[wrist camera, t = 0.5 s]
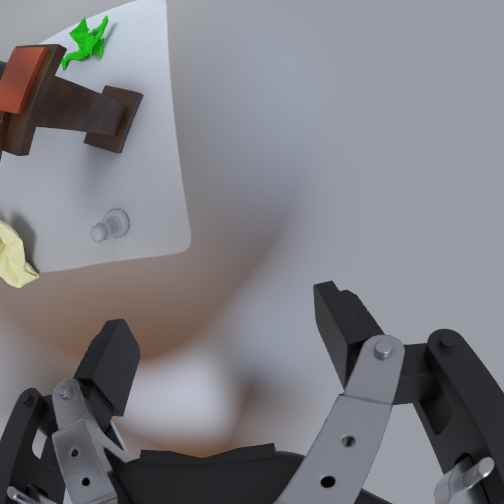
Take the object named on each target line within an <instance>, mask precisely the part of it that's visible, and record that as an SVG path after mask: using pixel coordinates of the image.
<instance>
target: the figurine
mask: <svg viewBox="0 0 504 504" xmlns="http://www.w3.org/2000/svg"><path fill="white" fill-rule="evenodd" d="M107 22H108V17H107V16H106V17H105V18H104V19H103V22H102V24H101V25H100V26H99V27H100V28H99V27H97V28H96V29H93V30H92V31H91V32H90V33H88V31H89V29H88V28H87V24H86V20H85V17H84V19H83V20H82V21H81V23H80V24H79V25H78V27H77V28H75V29H74V30H73V31H72V32H70V33H69V34H70V35H71V37H72V38H73V39H74V40H75V41H76V42H77V43H78V46H79V49H80V50H79V51H78V50H77V51H78V52H74V53H70V54H67V56H66V57H65V59H64V58H62V61H61V64H62V67H63V70H64V69H66V65H67V62H69V60H70V59H76V60H82V59H83V58H85V57H86V56H87V58H88V54H90V58H91V54H92V50H93V52H94V53H95V54H99V56H100V59H101V56H102V44H103V39H104V38H103V39H102V40H100V38H101V37H102V34H103V32H104V29H105V27H106V25H107ZM98 28H99V31H98V33H97V36H94V35H92V33H93V32H95V31H96V30H97V29H98Z"/></svg>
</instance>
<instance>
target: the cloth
mask: <svg viewBox="0 0 504 504" xmlns="http://www.w3.org/2000/svg"><path fill="white" fill-rule="evenodd" d="M0 278H3V279H4V280H5V281H6V282H7V283H8V284H10V285H12V286H14V287H17V288H21V287H22V286H24V285H25V284H27V283H29V282H31V281H33V280H35V279H36V278H39V275H38V274H37V273H36V272H35V271H34V269H33V268H32V267H31V265H30V264H29V263H28V262H27V261H25V253H24V246H23V241H22V240H21V239H20V238H19V235H18V233H17V232H16V231H15V230H14V229H13V228H12V227H11V226H10V225H8V224H7V223H6V222H3V221H1V220H0Z"/></svg>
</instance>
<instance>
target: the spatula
mask: <svg viewBox="0 0 504 504" xmlns="http://www.w3.org/2000/svg"><path fill="white" fill-rule="evenodd" d="M48 50H49V49H47V48H45V47H32V48H17V49H14V50H13V52H12V54H11V56H10V59H9V61H8V63H7V65H6V68H5V70H4V73H3V75H2V78H1V80H0V160H1V155H2V150H3V146H4V141H5V137H6V133H7V129H8V126H9V122H10V119H11V115H12V113H15V114H23V111H24V108H25V105H26V102H27V99H28V96H29V94H30V91H31V88H32V86H33V83H34V81H35V78H36V76H37V74H38V71H39V69H40V67H41V64H42V62H43V60H44V58H45V56H46V54H47V52H48Z"/></svg>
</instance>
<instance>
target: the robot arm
mask: <svg viewBox="0 0 504 504" xmlns="http://www.w3.org/2000/svg"><path fill="white" fill-rule="evenodd" d="M6 65H7V63H6V62H2V61H0V80H1V78H2V75H3V73H4V70H5V68H6ZM313 289H314V304H315V318H316V323H317V327H318V330H319V332H320V335H321V337H322V339H323V341H324V344H325V346H326V348H327V351H328V353H329V355H330V357H331V360H332V363H333V365H334V367H335V369H336V372H337V374H338V377H339V379H340V381H341V384H342V386H343V389H345V390H344V392H343V394H339V396H338V397H337V399H336V400H335V403H334V404H333V407H332V409H331V411H330V413H329V415H328V417H327V418H326V420H325V422H324V424H323V426H322V428H321V430H320V432H319V434H318V436H317V437H316V439H315V441H314V443H313V445H312V446H311V448H310V450H309V451H308V453H307V455H306V456H304V455H301V454H296V453H293V452H286V451H276V449H275V446H274V443H270V444H264V445H257V446H250V447H242V448H236V449H233V450H230V451H227V452H224V453H220V454H217V455H213V456H210V457H206V458H199V457H194V456H189V455H184V454H180V453H176V452H172V451H155V450H141V454H140V458H138V459H135V460H134V459H133V458H132V456H131V455H130V453H129V451H128V450H127V448H126V446H125V444H124V442H123V441H122V438H121V437H120V435H119V433H118V431H117V429H116V427H115V425H114V423H113V422H112V421H111V418H112V416H123V415H124V411H125V407H126V404H127V400H128V396H129V393H130V390H131V386H132V383H133V380H134V376H135V373H136V370H137V366H138V363H139V360H140V349H139V346H138V344H137V342H136V340H135V338H134V336H133V334H132V332H131V331H130V329H129V327H128V325H127V323H126V321H125V320H124V319H116V320H108V321H106V323H105V325H104V326H103V328H102V330H101V332H100V333H99V334H98V335H97V336H96V337H95V338H94V339H93V340H92V342H91V343H90V345H89V347H88V350H87V352H86V353H85V357H83V359H82V361H81V363H80V365H79V367H78V369H77V371H76V373H75V375H74V377H73V379H66V380H64V381H62V382H61V383H59V384H58V385H57V386H56V387H55V389H54V391H53V394H52V395H47V396H42V395H41V394H40V393H39V392H38V390H37V389H35V388H29V389H27V390H25V391H24V392H23V393H22V394H21V395H20V397H19V398H18V400H17V402H16V404H15V407H14V409H13V411H12V413H11V416H10V418H9V420H8V422H7V425H6V427H5V430H4V432H3V435H2V437H1V440H0V504H63V499H64V493H65V488H67V490H68V493H69V496H70V498H71V501H72V503H73V504H392V503H390V502H388V501H386V500H384V499H382V498H379V497H378V496H376V495H374V494H372V493H370V492H368V491H366V490H364V489H363V488H362V486H363V484H364V482H365V480H366V478H367V475H368V473H369V471H370V468H371V466H372V464H373V462H374V459H375V457H376V454H377V451H378V449H379V446H380V444H381V441H382V438H383V435H384V432H385V429H386V426H387V423H388V420H389V417H390V414H391V410H392V406H393V405H398V404H408V403H413V405H414V407H415V409H416V412H417V413H418V416H419V418H420V420H421V422H422V424H423V427H424V429H425V431H426V433H427V436H428V438H429V440H430V442H431V445H432V447H433V449H434V452H435V454H436V457H437V459H438V462H439V464H440V467H441V469H442V472H443V474H444V476H442V478H441V479H440V480H439V481H438V483H437V485H436V488H435V492H434V496H435V504H504V393H503V391H502V390H501V388H500V387H499V385H498V384H497V382H496V381H495V380H494V378H493V377H492V375H491V374H490V373H489V371H488V370H487V368H486V367H485V366H484V364H483V363H482V362H481V360H480V359H479V358H478V356H477V355H476V354H475V352H474V351H473V350H472V349H471V347H470V346H469V345H468V344H467V342H466V341H465V340H464V338H463V337H462V336H461V335H460V334H459V333H457V332H455V331H453V330H449V329H439V330H436V331H434V332H433V333H432V334H431V335H430V336H429V338H428V341H427V343H422V344H412V345H403V344H402V342H401V341H400V340H399V339H397V338H395V337H393V336H390V335H385V334H384V332H383V331H382V330H381V328H380V327H379V325H378V324H377V323H376V321H375V320H374V318H373V317H372V315H371V314H370V313H369V311H367V309H366V307H365V306H364V305H363V303H362V302H361V300H360V299H359V298H358V296H357V295H356V294H354V293H352V292H350V291H348V290H343V291H339V290H338V288H337V287H336V285H335V284H334V282H333V281H328V282H324V283H319V284H315V285H314V287H313ZM37 429H39V430H40V431H41V432H42V433H43V434H44V435H45V436H46V437H47V439H46V442H45V445H44V448H43V451H42V455H41V458H40V459H39V458H38V457H36V456H35V455H34V453H33V451H32V444H33V441H34V438H35V435H36V432H37Z"/></svg>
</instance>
